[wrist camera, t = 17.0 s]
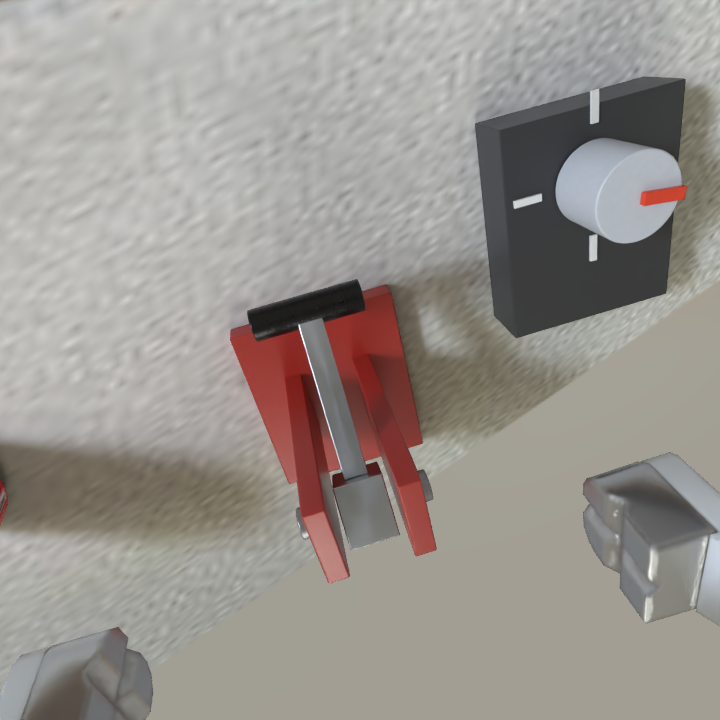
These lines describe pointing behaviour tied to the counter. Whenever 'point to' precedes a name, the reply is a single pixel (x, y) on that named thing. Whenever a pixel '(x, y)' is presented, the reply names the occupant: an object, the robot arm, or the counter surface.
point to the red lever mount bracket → (369, 414)
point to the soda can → (3, 501)
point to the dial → (619, 189)
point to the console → (547, 223)
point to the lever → (335, 405)
